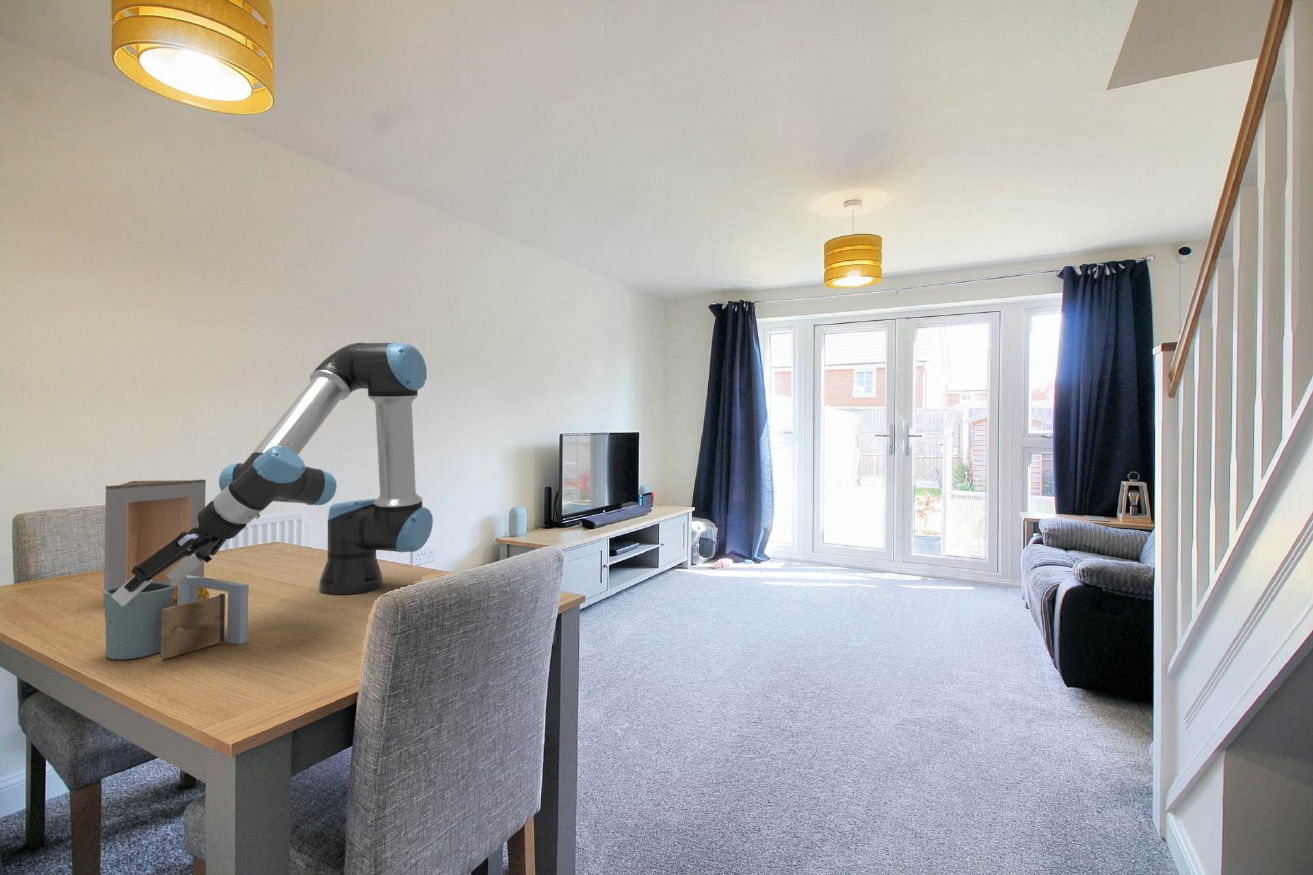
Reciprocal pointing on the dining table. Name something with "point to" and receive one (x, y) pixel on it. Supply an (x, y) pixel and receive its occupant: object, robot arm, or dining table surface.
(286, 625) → the dining table surface
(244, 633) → the grey rectangular arch
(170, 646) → the door
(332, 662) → the dining table surface
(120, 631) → the teal cup
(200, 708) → the dining table surface
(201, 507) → the cabinet
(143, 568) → the robot arm
